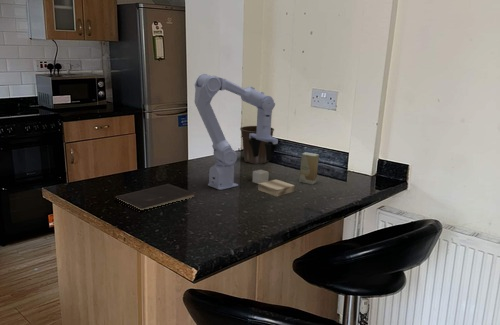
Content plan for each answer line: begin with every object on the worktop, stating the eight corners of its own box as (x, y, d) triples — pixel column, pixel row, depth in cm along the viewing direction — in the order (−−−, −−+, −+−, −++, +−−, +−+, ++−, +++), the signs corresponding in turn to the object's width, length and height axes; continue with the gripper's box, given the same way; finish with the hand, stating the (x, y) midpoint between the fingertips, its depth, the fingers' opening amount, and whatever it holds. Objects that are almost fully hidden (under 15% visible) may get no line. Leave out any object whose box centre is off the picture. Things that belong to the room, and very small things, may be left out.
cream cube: (260, 184, 181) (260, 173, 180) (252, 181, 184) (252, 171, 183) (268, 182, 184) (268, 171, 183) (260, 180, 187) (260, 169, 186)
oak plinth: (276, 197, 167) (276, 190, 166) (258, 190, 174) (258, 183, 173) (294, 192, 173) (294, 185, 172) (275, 186, 180) (276, 179, 180)
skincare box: (298, 182, 185) (300, 153, 182) (302, 179, 189) (304, 151, 186) (313, 184, 183) (315, 155, 180) (317, 182, 186) (319, 153, 183)
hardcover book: (195, 199, 162) (195, 193, 162) (141, 214, 146) (141, 207, 145) (167, 189, 173) (167, 183, 172) (114, 202, 156) (114, 196, 155)
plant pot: (244, 165, 208) (245, 131, 204) (235, 157, 224) (236, 125, 220) (277, 164, 213) (278, 131, 209) (266, 156, 228) (268, 125, 224)
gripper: (283, 127, 177) (281, 160, 180) (258, 122, 187) (256, 153, 190) (271, 128, 172) (269, 163, 175) (246, 123, 182) (244, 155, 185)
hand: (262, 158), depth 182 cm, fingers open, 7 cm apart
